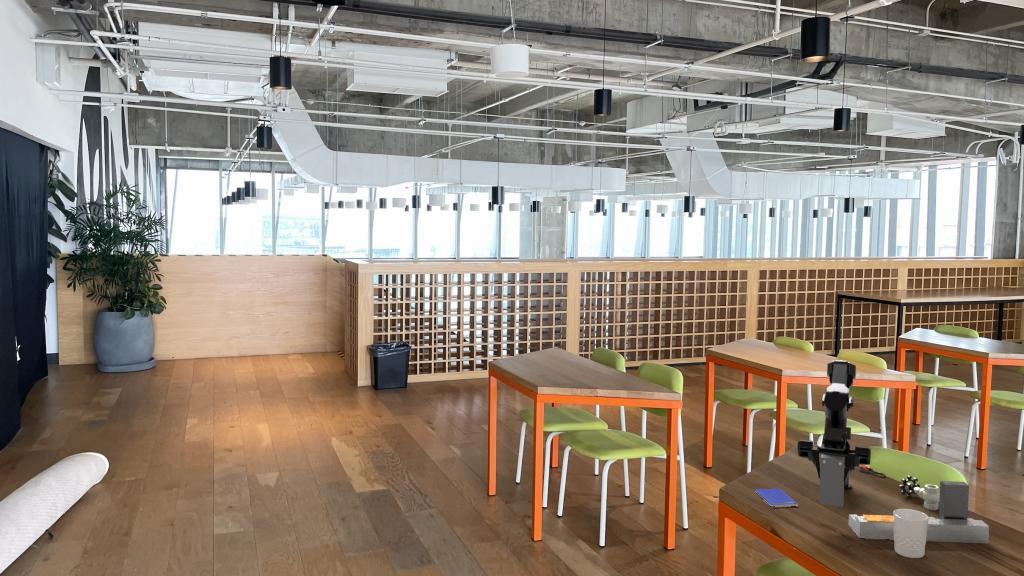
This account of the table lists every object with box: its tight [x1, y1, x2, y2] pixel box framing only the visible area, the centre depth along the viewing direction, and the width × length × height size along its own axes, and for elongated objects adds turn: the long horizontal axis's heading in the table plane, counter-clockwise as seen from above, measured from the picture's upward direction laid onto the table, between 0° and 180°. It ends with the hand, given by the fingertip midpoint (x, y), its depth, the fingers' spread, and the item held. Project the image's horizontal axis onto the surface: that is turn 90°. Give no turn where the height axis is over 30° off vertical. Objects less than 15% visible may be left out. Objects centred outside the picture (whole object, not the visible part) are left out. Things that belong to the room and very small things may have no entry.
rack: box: [847, 480, 990, 544], centre depth 205 cm, size 10×32×14 cm, turn 83°
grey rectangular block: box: [818, 454, 845, 508], centre depth 211 cm, size 3×6×13 cm, turn 64°
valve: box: [898, 474, 940, 511], centre depth 227 cm, size 7×7×12 cm
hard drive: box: [754, 488, 799, 508], centre depth 232 cm, size 2×8×12 cm
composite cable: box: [858, 464, 887, 478], centre depth 254 cm, size 10×5×2 cm, turn 15°
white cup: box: [892, 508, 929, 559], centre depth 194 cm, size 8×8×10 cm
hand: (831, 479), depth 210 cm, fingers closed on grey rectangular block, 6 cm apart
